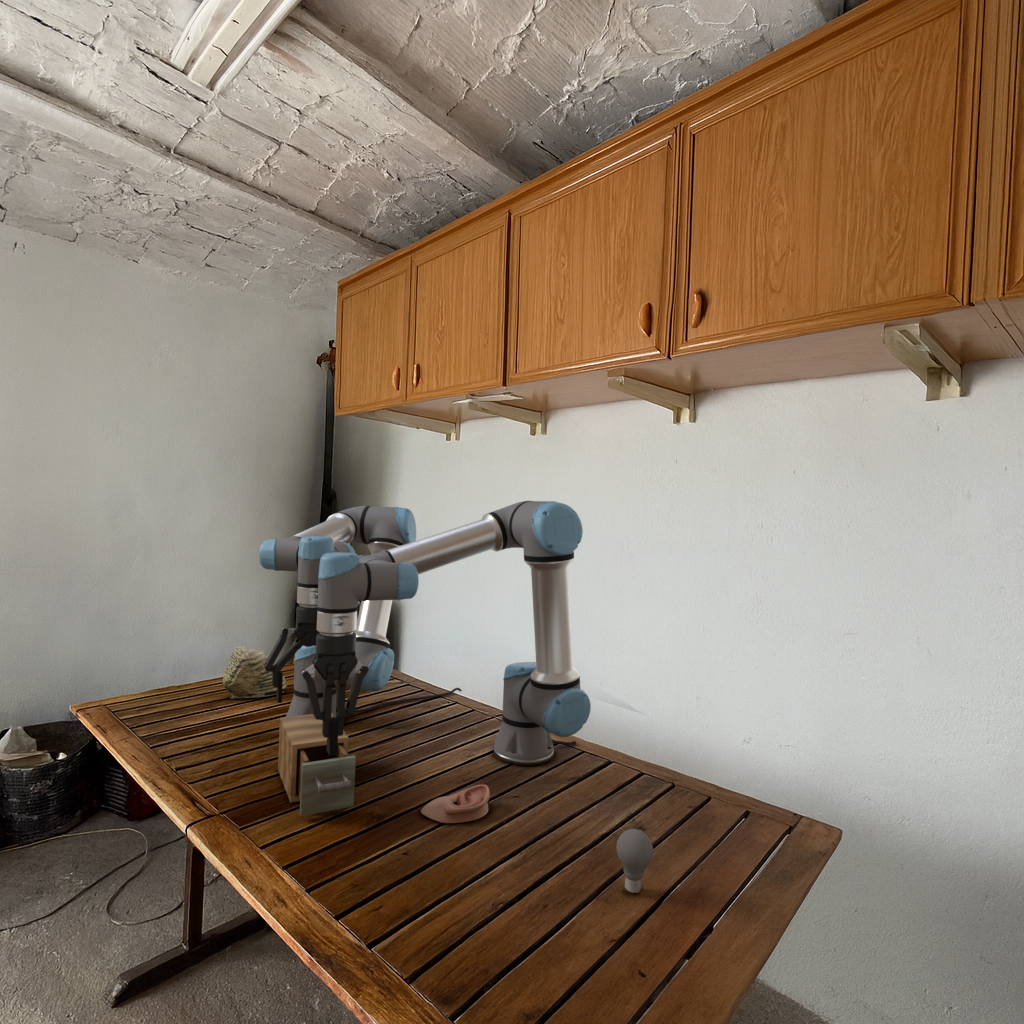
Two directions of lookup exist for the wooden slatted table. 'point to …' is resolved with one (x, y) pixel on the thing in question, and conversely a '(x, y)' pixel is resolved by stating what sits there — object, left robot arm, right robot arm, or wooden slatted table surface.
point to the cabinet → (299, 746)
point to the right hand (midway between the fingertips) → (331, 752)
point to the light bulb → (634, 857)
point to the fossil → (249, 674)
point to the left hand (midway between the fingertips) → (310, 697)
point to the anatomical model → (459, 806)
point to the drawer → (324, 779)
